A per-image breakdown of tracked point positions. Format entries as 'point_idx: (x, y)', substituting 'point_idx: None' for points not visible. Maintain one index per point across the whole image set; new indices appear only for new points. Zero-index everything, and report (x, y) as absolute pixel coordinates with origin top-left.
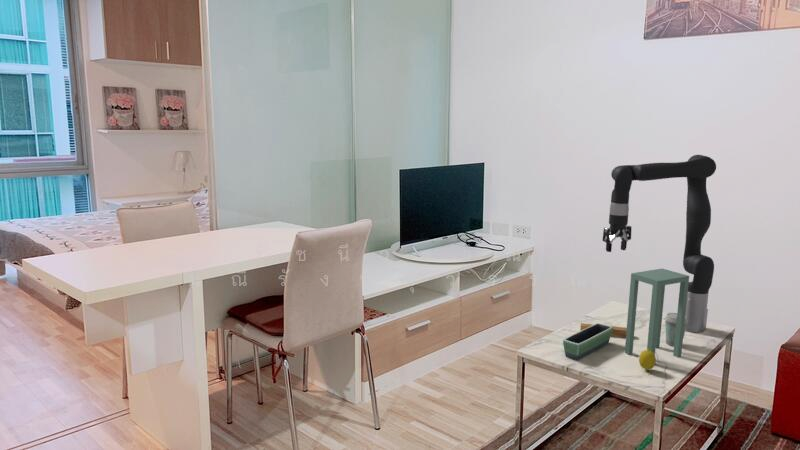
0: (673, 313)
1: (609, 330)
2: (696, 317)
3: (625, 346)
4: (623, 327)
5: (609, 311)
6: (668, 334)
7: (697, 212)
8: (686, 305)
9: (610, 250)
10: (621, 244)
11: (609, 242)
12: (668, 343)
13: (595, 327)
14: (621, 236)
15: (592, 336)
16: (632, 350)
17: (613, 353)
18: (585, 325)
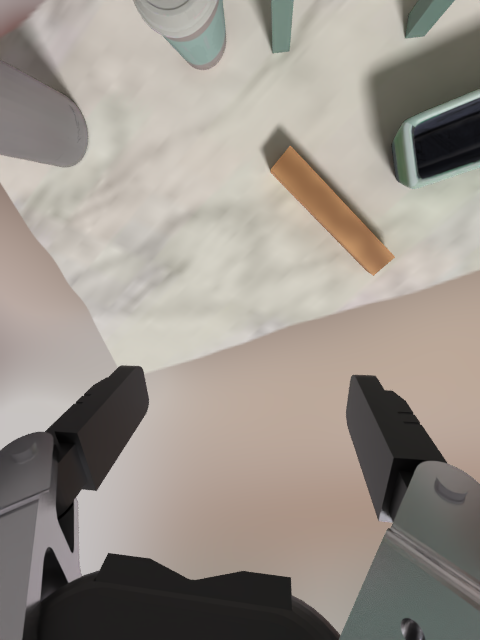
0: (152, 6)
1: (437, 106)
2: (29, 76)
3: (437, 19)
4: (286, 185)
5: (181, 341)
6: (223, 14)
7: None
8: (20, 107)
9: (375, 382)
10: (120, 445)
11: (475, 490)
12: (225, 36)
13: (436, 171)
14: (104, 567)
15: (450, 161)
16: (416, 5)
17: (461, 50)
18: (380, 252)
